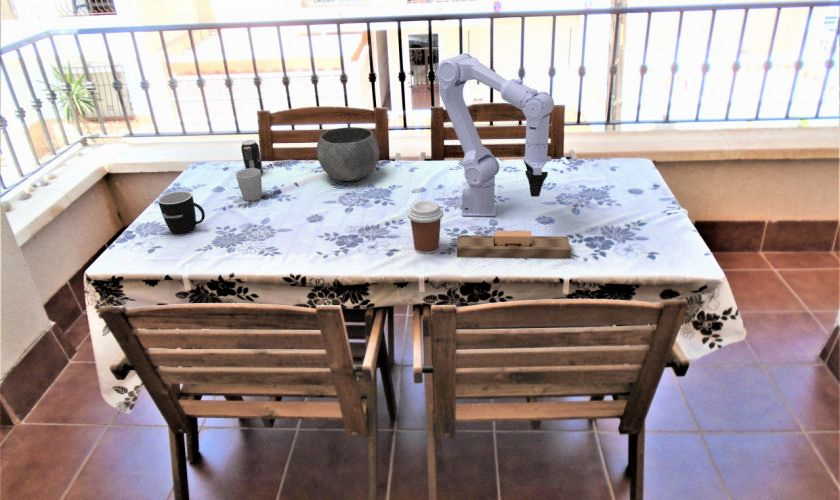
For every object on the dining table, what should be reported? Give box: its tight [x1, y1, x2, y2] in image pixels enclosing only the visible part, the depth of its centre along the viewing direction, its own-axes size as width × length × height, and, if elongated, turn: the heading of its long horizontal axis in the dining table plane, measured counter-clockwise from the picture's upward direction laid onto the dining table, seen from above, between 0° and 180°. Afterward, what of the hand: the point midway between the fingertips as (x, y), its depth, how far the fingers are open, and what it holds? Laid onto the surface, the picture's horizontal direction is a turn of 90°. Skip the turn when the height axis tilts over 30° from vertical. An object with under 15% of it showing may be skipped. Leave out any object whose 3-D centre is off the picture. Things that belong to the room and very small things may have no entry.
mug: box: [158, 190, 206, 235], centre depth 168 cm, size 12×9×10 cm
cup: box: [235, 168, 263, 202], centre depth 188 cm, size 8×10×8 cm
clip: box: [494, 230, 533, 247], centre depth 151 cm, size 9×3×5 cm, turn 84°
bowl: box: [316, 126, 381, 182], centre depth 198 cm, size 20×20×15 cm
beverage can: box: [240, 139, 264, 175], centre depth 204 cm, size 6×6×12 cm
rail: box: [456, 234, 572, 259], centre depth 152 cm, size 28×7×2 cm, turn 84°
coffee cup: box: [407, 200, 444, 255], centre depth 152 cm, size 9×9×12 cm
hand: (533, 190), depth 161 cm, fingers open, 7 cm apart
